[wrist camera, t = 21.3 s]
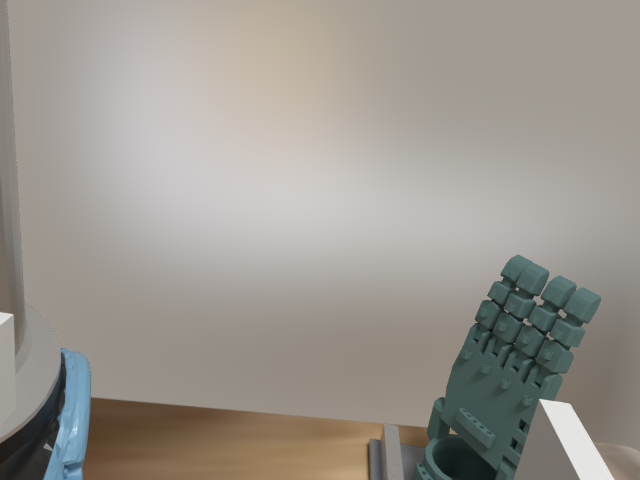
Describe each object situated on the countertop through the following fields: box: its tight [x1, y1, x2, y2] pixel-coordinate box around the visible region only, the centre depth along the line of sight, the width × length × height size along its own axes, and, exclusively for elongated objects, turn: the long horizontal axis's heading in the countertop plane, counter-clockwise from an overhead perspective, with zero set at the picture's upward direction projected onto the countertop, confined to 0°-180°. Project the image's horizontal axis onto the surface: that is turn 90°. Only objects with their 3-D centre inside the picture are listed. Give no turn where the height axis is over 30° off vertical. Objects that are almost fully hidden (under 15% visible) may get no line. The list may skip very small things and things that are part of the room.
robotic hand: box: [412, 255, 601, 480], centre depth 52 cm, size 14×10×25 cm
